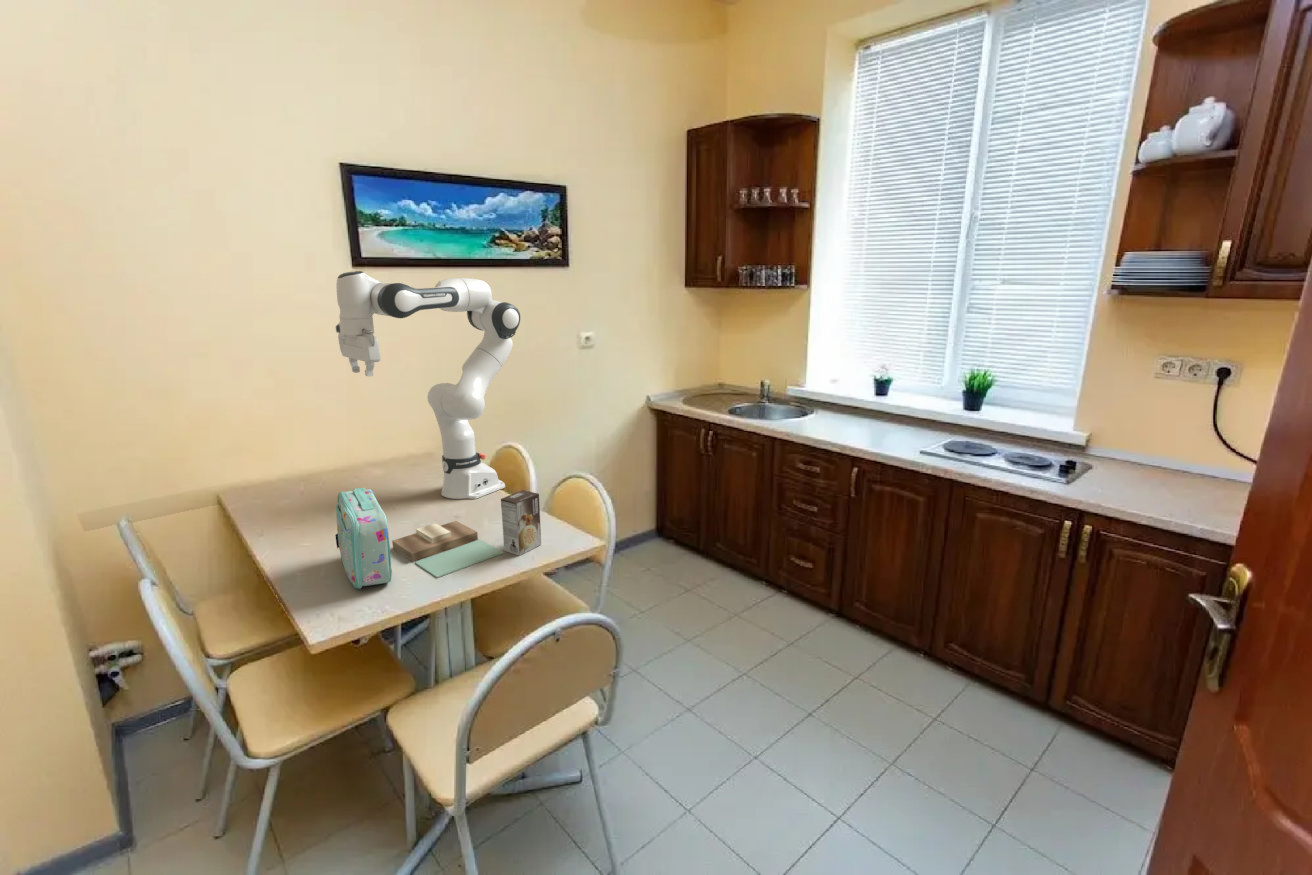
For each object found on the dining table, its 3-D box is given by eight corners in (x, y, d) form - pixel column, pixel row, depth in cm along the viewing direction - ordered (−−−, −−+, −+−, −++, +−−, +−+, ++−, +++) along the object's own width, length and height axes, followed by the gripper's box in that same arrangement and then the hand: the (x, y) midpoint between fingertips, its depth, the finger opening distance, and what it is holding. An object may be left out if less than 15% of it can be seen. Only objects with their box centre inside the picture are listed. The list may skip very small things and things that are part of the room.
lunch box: (336, 557, 167) (326, 484, 161) (376, 548, 173) (368, 477, 167) (353, 598, 146) (343, 516, 140) (398, 587, 152) (390, 507, 146)
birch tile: (435, 527, 181) (435, 523, 180) (451, 536, 175) (450, 531, 175) (416, 533, 176) (416, 529, 176) (431, 543, 171) (431, 538, 170)
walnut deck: (456, 528, 187) (456, 520, 186) (477, 539, 179) (477, 531, 178) (393, 548, 172) (392, 540, 172) (413, 562, 165) (412, 553, 164)
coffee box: (525, 539, 180) (523, 488, 176) (541, 544, 176) (540, 493, 172) (503, 550, 172) (500, 498, 168) (519, 556, 169) (517, 503, 165)
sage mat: (479, 540, 178) (479, 539, 178) (503, 553, 171) (503, 552, 171) (415, 563, 164) (414, 561, 164) (437, 578, 156) (437, 576, 156)
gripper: (383, 330, 174) (388, 377, 178) (354, 325, 187) (359, 369, 191) (361, 331, 170) (366, 379, 173) (332, 326, 183) (338, 371, 186)
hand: (362, 374), depth 182 cm, fingers open, 8 cm apart
